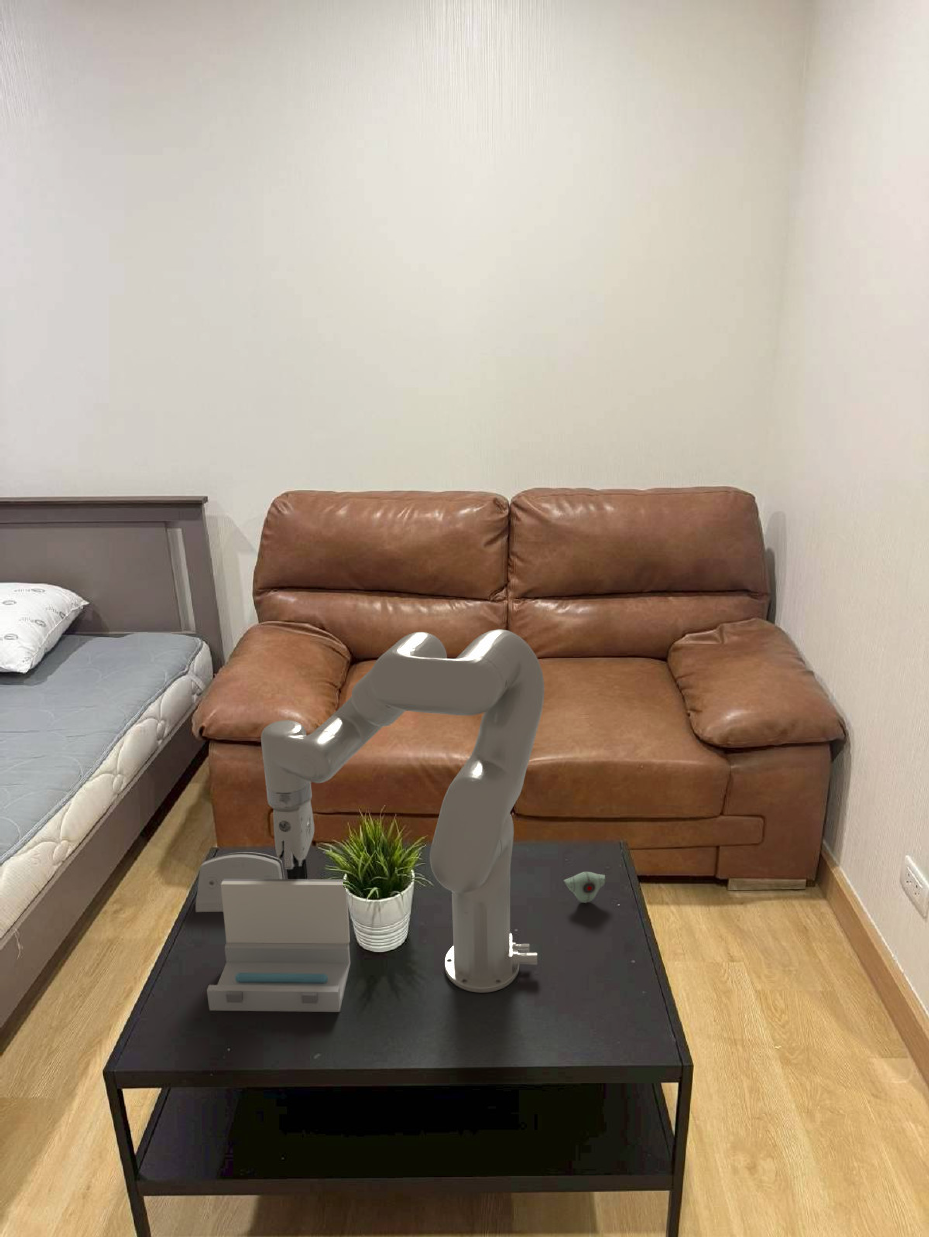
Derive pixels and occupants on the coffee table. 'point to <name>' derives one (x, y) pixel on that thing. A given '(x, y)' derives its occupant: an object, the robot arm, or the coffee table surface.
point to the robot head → (585, 885)
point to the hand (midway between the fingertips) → (297, 880)
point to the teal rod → (281, 977)
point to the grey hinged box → (281, 994)
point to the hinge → (232, 875)
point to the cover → (285, 911)
